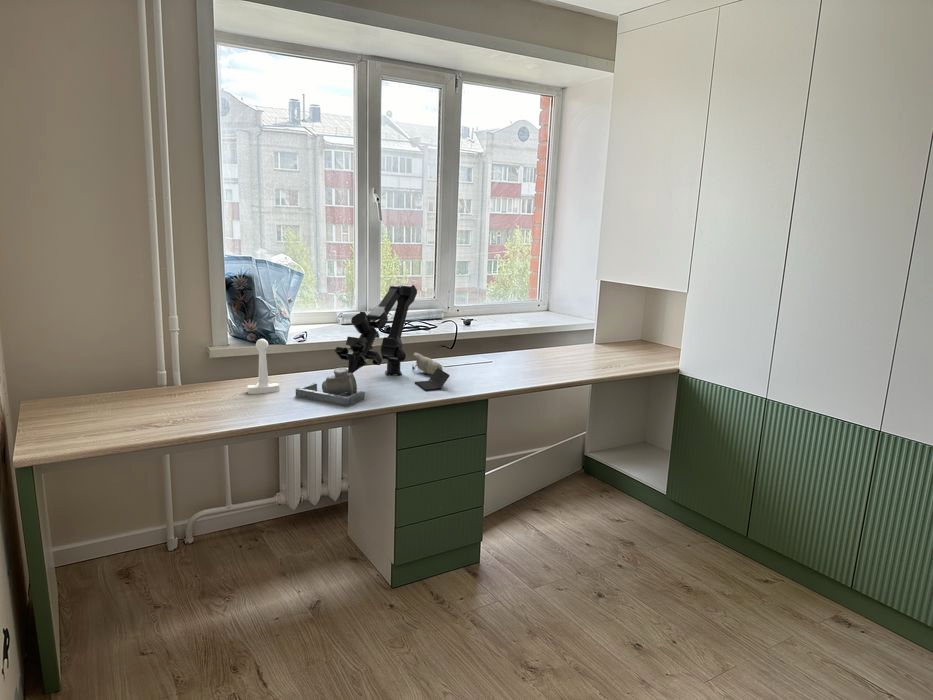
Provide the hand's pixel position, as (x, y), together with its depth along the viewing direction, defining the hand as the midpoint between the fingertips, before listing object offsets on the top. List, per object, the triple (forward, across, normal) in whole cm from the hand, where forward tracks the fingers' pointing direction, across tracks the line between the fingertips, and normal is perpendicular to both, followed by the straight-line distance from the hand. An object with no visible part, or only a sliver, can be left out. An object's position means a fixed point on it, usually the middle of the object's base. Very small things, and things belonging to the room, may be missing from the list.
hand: (349, 373), depth 236 cm
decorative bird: (-23, +12, +33) cm, 42 cm away
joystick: (+17, -27, -7) cm, 33 cm away
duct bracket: (+13, 0, -3) cm, 13 cm away
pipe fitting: (+9, 0, +1) cm, 9 cm away
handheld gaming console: (-11, +23, +21) cm, 33 cm away
